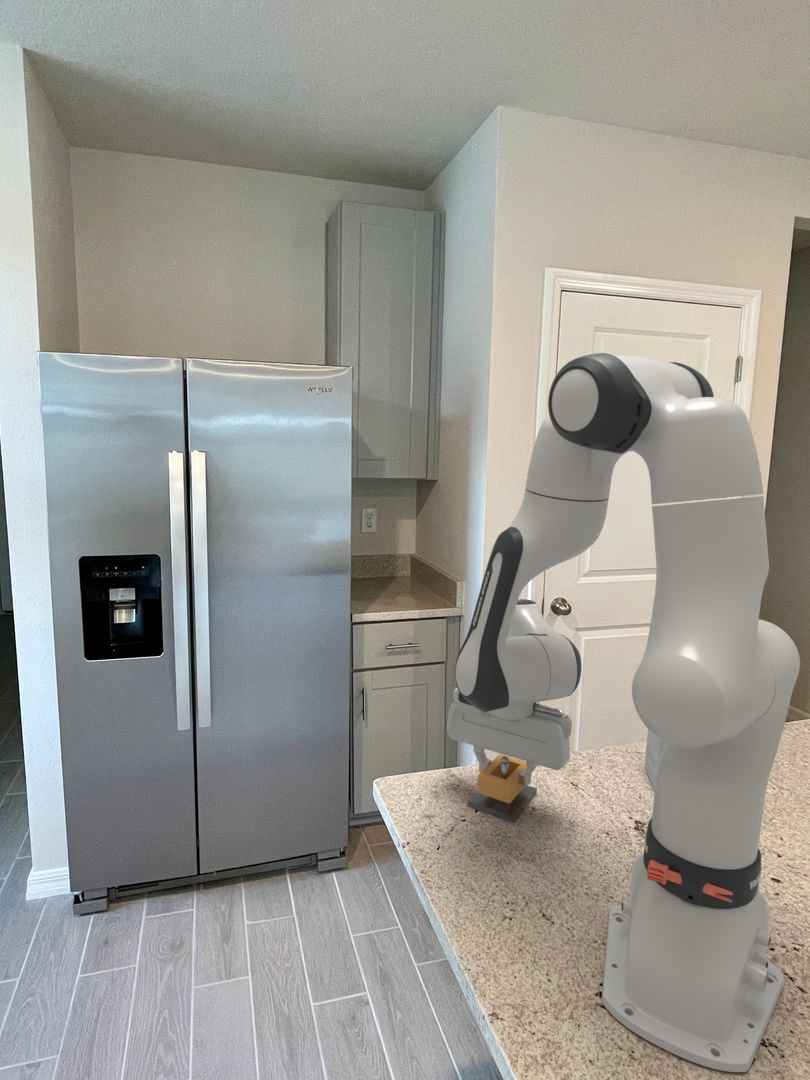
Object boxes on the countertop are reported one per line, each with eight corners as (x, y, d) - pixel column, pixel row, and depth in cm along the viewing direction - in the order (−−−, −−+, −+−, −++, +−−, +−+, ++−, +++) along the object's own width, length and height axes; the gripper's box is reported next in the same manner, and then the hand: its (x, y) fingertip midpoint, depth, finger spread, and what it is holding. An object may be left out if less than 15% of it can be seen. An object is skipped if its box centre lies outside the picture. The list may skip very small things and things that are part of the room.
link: (509, 803, 100) (510, 785, 100) (477, 792, 103) (478, 775, 103) (529, 780, 107) (530, 763, 107) (498, 770, 110) (499, 753, 110)
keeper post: (513, 822, 99) (516, 776, 98) (467, 806, 103) (469, 761, 102) (536, 793, 108) (539, 751, 107) (492, 779, 112) (495, 738, 111)
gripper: (578, 705, 100) (572, 787, 102) (461, 677, 111) (458, 752, 113) (566, 719, 95) (560, 806, 97) (444, 688, 105) (441, 767, 107)
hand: (504, 777), depth 105 cm, fingers closed on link, 6 cm apart
